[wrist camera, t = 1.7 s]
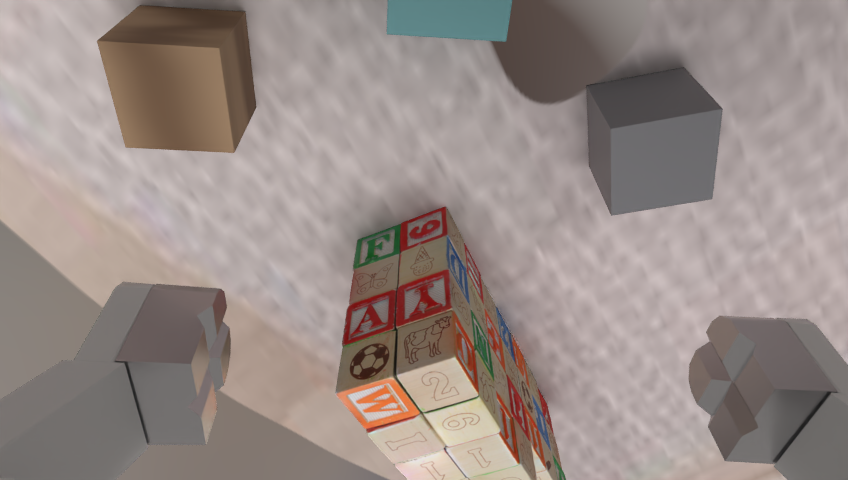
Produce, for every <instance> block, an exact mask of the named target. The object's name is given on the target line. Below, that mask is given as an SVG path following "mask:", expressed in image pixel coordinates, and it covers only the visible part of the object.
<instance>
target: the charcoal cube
mask: <svg viewBox="0 0 848 480" xmlns="http://www.w3.org/2000/svg"><path fill="white" fill-rule="evenodd" d="M586 89H587V117H588V146H589V167H590V169H591V172H592V174H593V176H594V178H595V180H596V183H597V185H598V187H599V189H600V191H601V194H602V196H603V198H604V200H605V203H606V205H607V207H608V209H609V211H610V214H611V216H612V215H618V214H624V213H630V212H636V211H642V210H649V209H655V208H661V207H667V206H673V205H679V204H685V203H691V202H697V201H703V200H710V199H712V197H713V188H714V179H715V171H716V162H717V153H718V144H719V136H720V127H721V118H722V110H723V109H722V108H721V107H720V106H719V104H718V103H717V102H716V101H715V100H714V99H713V98H712V97H711V96H710V95H709V94H708V93H707V92H706V91H705V90H704V88H703V87H702V86H701V85H700V84H699V83H698V82H697V81H696V80H695V79H694V78H693V77H692V76H691V75H690V73H689V72H688V71H687V70H686V69H685V68H679V69H673V70H668V71H663V72H657V73H652V74H647V75H641V76H636V77H631V78H625V79H620V80H615V81H609V82H604V83H599V84H590V85H586Z"/></svg>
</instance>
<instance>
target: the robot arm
mask: <svg viewBox="0 0 848 480" xmlns="http://www.w3.org/2000/svg"><path fill="white" fill-rule="evenodd" d="M226 308H227V305H226V299H225V293H224V291H223V290H222V289H217V288H204V287H191V286H178V285H165V284H156V285H154V284H143V283H131V282H122V283H121V284H120V285H118V286H117V287H116V288H115V289H114V290H113V292H112V294H111V296H110V297H109V299H108V301H107V303H106V304H105V306H104V308H103V310H102V312H101V313H100V315H99V317H98V318H97V320H96V322H95V324H94V325H93V327H92V329H91V331H90V332H89V334H88V336H87V337H86V339H85V341H84V343H83V344H82V346H81V348H80V350H79V351H78V353H77V355H76V357H75V358H74V360H73V361H72V360H71V361H70V360H62V361H61V362H59V363H58V364H56V365H54V366H53V367H51V368H49V369H48V370H46V371H45V372H43V373H41V374H40V375H38V376H37V377H35V378H34V379H32V380H30V381H29V382H27V383H26V384H24V385H22V386H21V387H19V388H18V389H16V390H15V391H13V392H11V393H10V394H8V395H7V396H5V397H3V398H2V399H0V480H116V479H117V478H118V477H119V476H120V475H121V474H122V473H123V472H124V471H125V470H126V469H127V468H128V467H129V466H130V465H131V464H132V463H133V462H134V461H135V460H136V459H137V458H138V457H140V456H141V454H142V453H144V452H145V451H146V450H147V449H148V445H206V443H207V440H208V437H209V434H210V430H211V426H212V423H213V420H214V417H215V414H216V410H217V405H216V398H215V392H216V391H217V390H219V389H220V388H221V387H222V386H223V385H224V383H225V379H226V375H227V372H228V366H229V359H230V345H231V338H230V329H229V327H228V326H227V325H226V324H225V323H224V322H223V318H224V315H225V312H226ZM706 333H707V336H708V338H709V341H710V342H708V343H707V344H705V345H704V346H702V347H701V348H699V349H697V350H696V352H695V354H694V356H693V358H692V360H691V362H690V366H689V384H690V388H691V392H692V394H693V396H694V399H695V401H696V403H697V404H698V405H699V406H700V407H701V408H702V409H704V410H705V411H706V412H707V413H709V414H710V415H711V418H710V421H709V425H708V428H709V430H710V432H711V434H712V436H713V438H714V440H715V442H716V444H717V446H718V448H719V450H720V452H721V454H722V456H723V458H724V460H725V461H733V462H750V463H767V464H775V465H774V467H775V468H776V469H777V470H778V471H779V472H780V473H781V474H782V475H783V476H784V477H785V478H786V479H787V480H848V365H847V363H846V362H845V361H844V360H843V358H842V357H841V356H840V355H839V353H838V352H837V351H836V350H835V348H834V347H833V346H832V344H831V343H830V342H829V341H828V339H827V338H826V337H825V336H824V334H823V333H822V332H821V331H820V329H819V328H818V327H817V325H815V324H814V323H812V322H811V321H809V320H807V319H791V318H776V319H774V318H759V317H738V316H719V317H717V318H716V319H715V320H713V321H712V323H711V324H710V326H709V328H708V330H707V331H706Z"/></svg>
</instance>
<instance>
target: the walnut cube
mask: <svg viewBox="0 0 848 480" xmlns="http://www.w3.org/2000/svg"><path fill="white" fill-rule="evenodd" d="M97 43H98V46H99V50H100V54H101V58H102V61H103V65H104V69H105V73H106V76H107V80H108V84H109V87H110V91H111V95H112V99H113V102H114V106H115V110H116V113H117V117H118V121H119V125H120V128H121V132H122V136H123V139H124V143H125V147H128V148H148V149H168V150H188V151H208V152H228V153H234V152H235V150H236V148H237V146H238V144H239V142H240V140H241V138H242V136H243V134H244V132H245V130H246V127H247V125H248V123H249V121H250V119H251V117H252V115H253V113H254V111H255V109H256V101H255V93H254V84H253V75H252V66H251V57H250V49H249V40H248V31H247V22H246V13H245V12H242V11H225V10H209V9H193V8H176V7H160V6H144V5H140V6H138V7H137V8H136V9H135V10H134V11H132V12H131V13H130V14H129V15H128V16H126V17H125V18H124V19H123V20H122V21H120V22H119V23H118V24H117V25H116V26H114V27H113V28H112V29H111V30H110V31H108V32H107V33H106V34H105V35H104V36H102V37H101V38H100V39H99V40H98V41H97Z"/></svg>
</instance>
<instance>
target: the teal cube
mask: <svg viewBox="0 0 848 480" xmlns="http://www.w3.org/2000/svg"><path fill="white" fill-rule="evenodd" d="M511 6H512V0H388V11H387V34H391V35H407V36H423V37H439V38H455V39H471V40H488V41H504V42H505V41H506V39H507V32H508V25H509V19H510V12H511Z"/></svg>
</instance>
